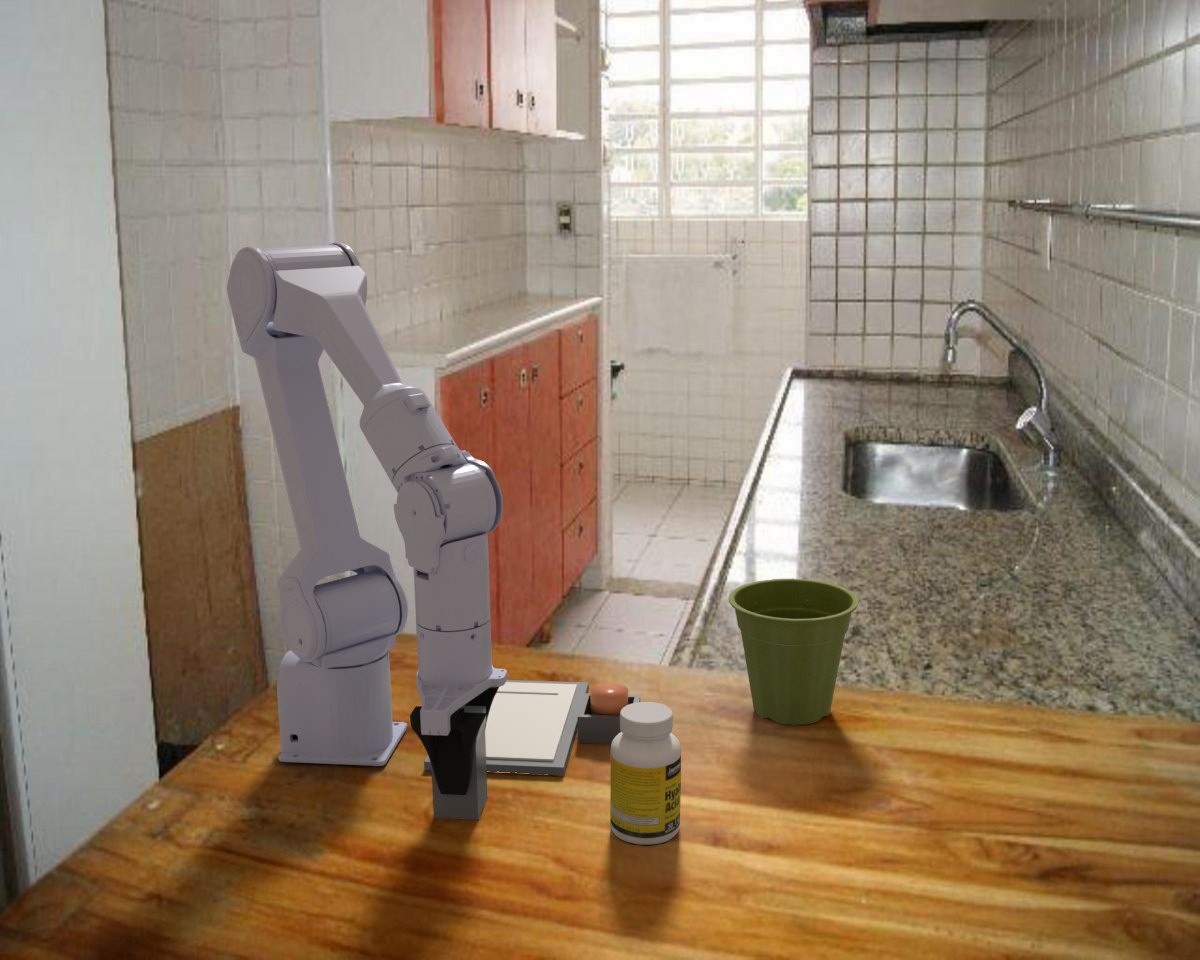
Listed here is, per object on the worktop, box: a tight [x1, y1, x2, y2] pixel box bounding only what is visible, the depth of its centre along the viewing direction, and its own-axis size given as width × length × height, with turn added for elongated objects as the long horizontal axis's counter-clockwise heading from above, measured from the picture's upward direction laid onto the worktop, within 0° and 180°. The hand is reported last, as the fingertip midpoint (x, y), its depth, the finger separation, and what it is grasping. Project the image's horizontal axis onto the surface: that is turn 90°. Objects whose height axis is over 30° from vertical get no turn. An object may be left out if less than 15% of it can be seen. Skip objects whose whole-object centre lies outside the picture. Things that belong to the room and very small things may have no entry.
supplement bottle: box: [609, 701, 682, 846], centre depth 94 cm, size 5×5×10 cm
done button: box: [590, 682, 629, 716], centre depth 111 cm, size 3×3×2 cm
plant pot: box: [728, 578, 860, 726], centre depth 115 cm, size 12×12×11 cm
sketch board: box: [423, 679, 589, 777], centre depth 113 cm, size 12×18×1 cm, turn 174°
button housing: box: [577, 692, 641, 745], centre depth 112 cm, size 5×5×2 cm
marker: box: [430, 705, 488, 821], centre depth 98 cm, size 4×4×8 cm
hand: (459, 779), depth 98 cm, fingers closed on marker, 4 cm apart
